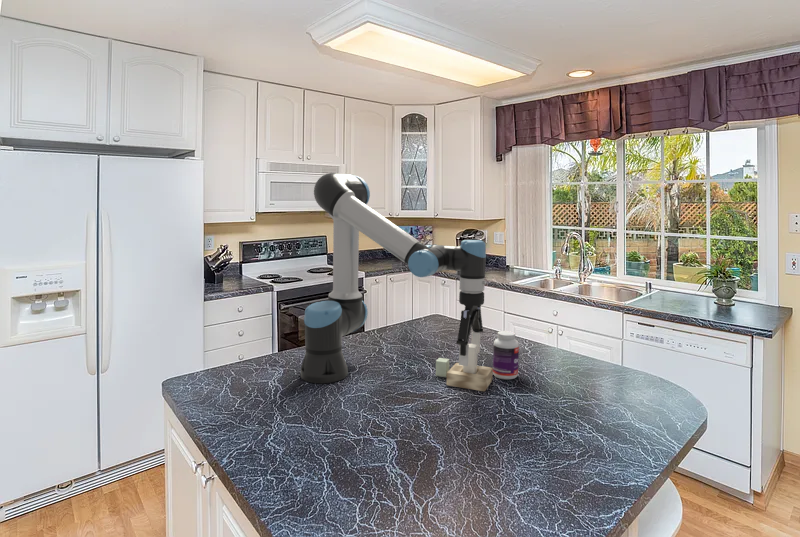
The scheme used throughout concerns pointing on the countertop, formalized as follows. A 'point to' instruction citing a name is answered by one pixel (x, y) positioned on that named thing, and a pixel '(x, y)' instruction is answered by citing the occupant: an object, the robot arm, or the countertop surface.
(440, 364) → the short peg
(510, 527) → the countertop surface
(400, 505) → the countertop surface
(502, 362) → the pill bottle
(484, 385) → the hole block
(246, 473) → the countertop surface
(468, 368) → the long peg
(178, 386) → the countertop surface
